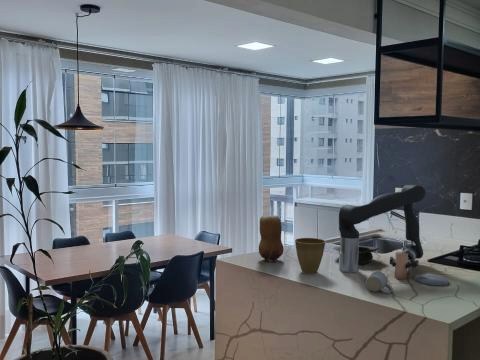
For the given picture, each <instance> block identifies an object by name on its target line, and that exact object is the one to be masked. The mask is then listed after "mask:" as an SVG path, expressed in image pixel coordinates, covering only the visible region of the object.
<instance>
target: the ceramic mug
mask: <svg viewBox="0 0 480 360" xmlns="http://www.w3.org/2000/svg"><path fill="white" fill-rule="evenodd" d="M365 281H366V282H365V284H366V288H367V289H368V290H369V291H371V292H372V293H373V292H374V293H376V292H383V293H384V294H391V293H392V292H393V288H392V287H391V286H390V285H389V283H388V282H389V281H388V277H387V276H386V274H385V273H383V272H382V271H378V270H377V271H374V272H373V273H371V274H370V275H369V276H368V277H367V279H366V280H365ZM386 288H387V289H386Z"/></svg>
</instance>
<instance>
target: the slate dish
mask: <svg viewBox="0 0 480 360" xmlns="http://www.w3.org/2000/svg"><path fill="white" fill-rule="evenodd" d="M414 281H415V282H417V283H418V282H419V284H421V285H426V286H429V287H430V286H431V287H444V286H445V287H446V286H448V285H449V284H450V280H449V278H447V277H444V276H441V275H437V274H430V273H429V274H428V273H423V274H422V273H421V274H417V275H414Z"/></svg>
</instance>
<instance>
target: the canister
mask: <svg viewBox="0 0 480 360" xmlns="http://www.w3.org/2000/svg"><path fill="white" fill-rule="evenodd" d="M394 259H395V267H394V278H395V279H397V280H400V281H401V280H402V281H403V280H407V278H408V269H406V264H407V263H408V253H404V252H402V251H397V252H395V258H394Z"/></svg>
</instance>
